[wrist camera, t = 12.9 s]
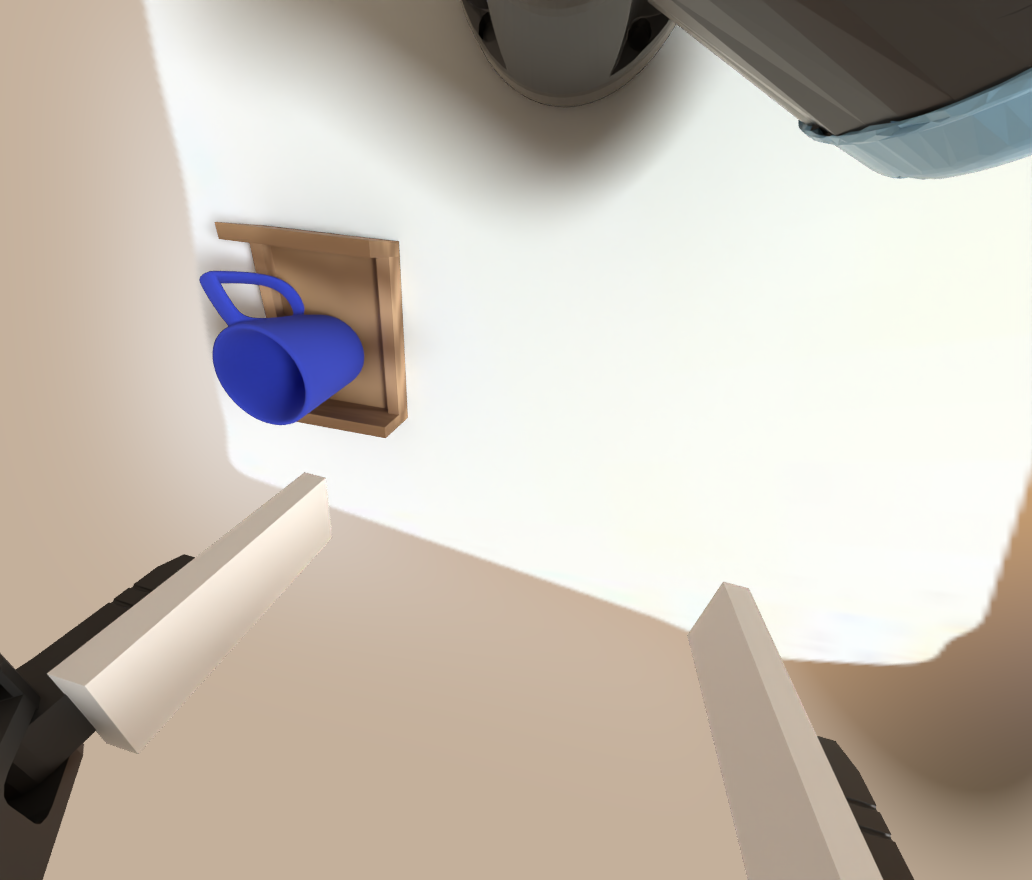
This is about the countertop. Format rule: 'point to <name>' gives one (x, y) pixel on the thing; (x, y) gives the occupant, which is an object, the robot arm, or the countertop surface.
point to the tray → (341, 313)
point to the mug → (280, 353)
